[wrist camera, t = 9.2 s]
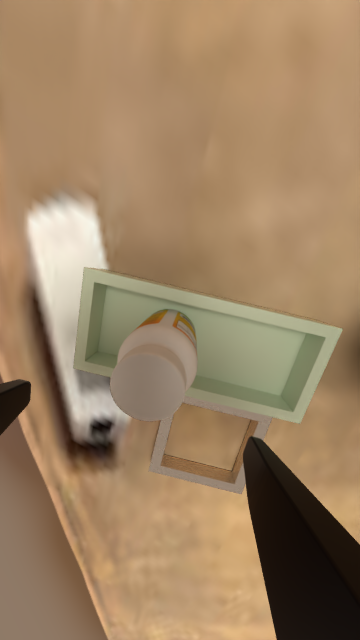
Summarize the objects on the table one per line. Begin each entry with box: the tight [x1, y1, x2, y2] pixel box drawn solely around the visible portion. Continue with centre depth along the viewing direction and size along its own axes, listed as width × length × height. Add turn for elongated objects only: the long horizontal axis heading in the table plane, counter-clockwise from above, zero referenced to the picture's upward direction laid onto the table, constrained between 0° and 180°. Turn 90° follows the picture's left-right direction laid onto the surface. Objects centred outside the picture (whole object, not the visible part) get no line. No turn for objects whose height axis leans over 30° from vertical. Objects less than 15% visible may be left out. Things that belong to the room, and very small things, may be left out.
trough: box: [73, 267, 343, 424], centre depth 18 cm, size 22×10×4 cm, turn 77°
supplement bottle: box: [110, 309, 198, 421], centre depth 14 cm, size 5×5×10 cm
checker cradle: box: [149, 396, 273, 494], centre depth 22 cm, size 11×11×2 cm
